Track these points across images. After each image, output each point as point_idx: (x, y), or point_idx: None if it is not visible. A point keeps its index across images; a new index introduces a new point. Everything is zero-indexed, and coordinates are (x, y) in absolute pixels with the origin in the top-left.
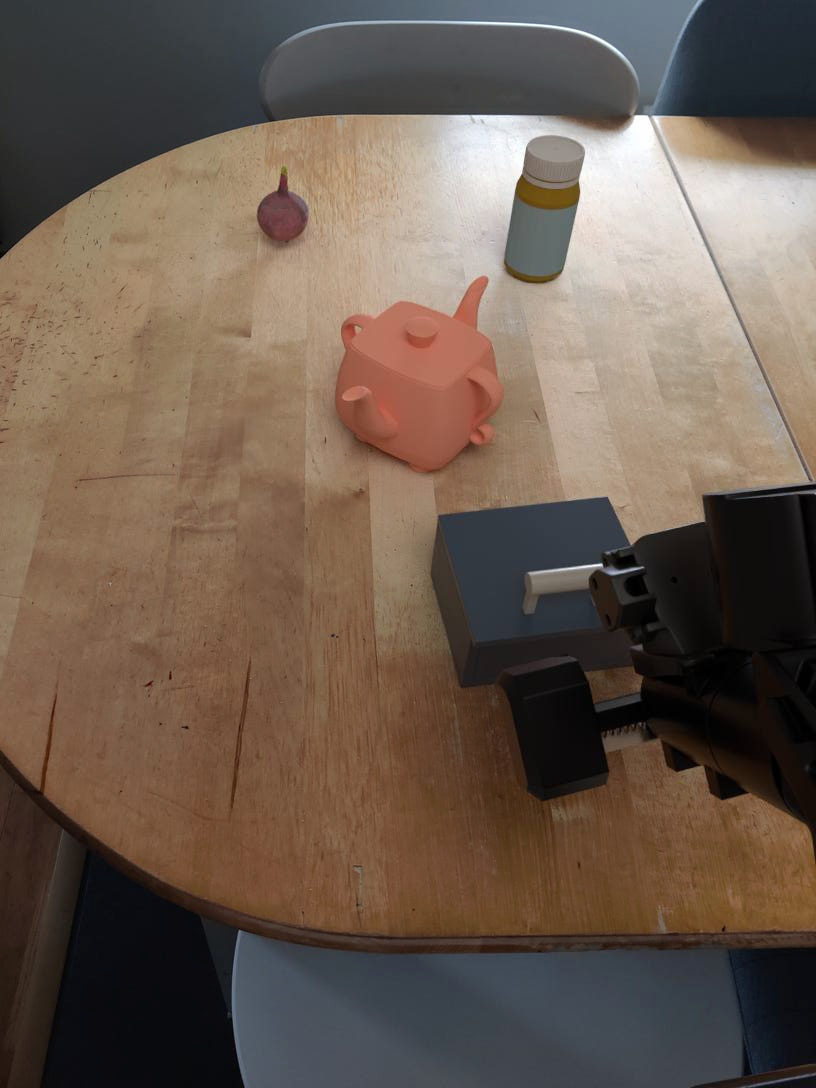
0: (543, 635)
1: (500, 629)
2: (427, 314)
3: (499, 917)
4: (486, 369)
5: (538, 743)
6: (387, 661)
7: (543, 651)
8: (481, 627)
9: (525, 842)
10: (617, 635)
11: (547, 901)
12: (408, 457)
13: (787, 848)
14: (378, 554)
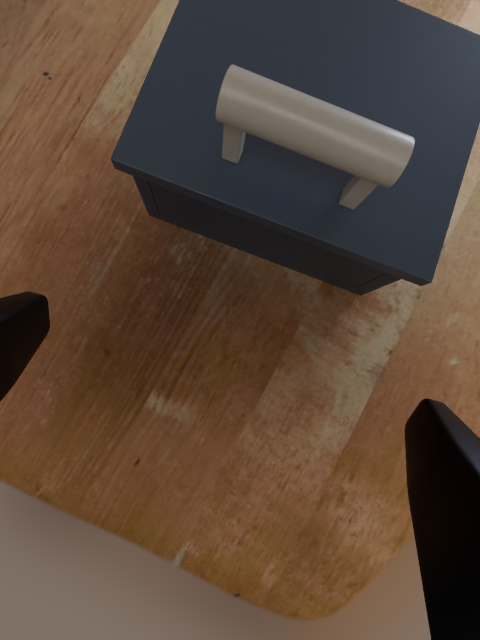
0: (226, 206)
1: (165, 160)
2: None
3: (16, 468)
4: None
5: None
6: (87, 139)
7: (245, 227)
8: (138, 141)
9: (98, 411)
10: (352, 260)
11: (77, 479)
12: None
13: (364, 559)
14: (167, 4)
